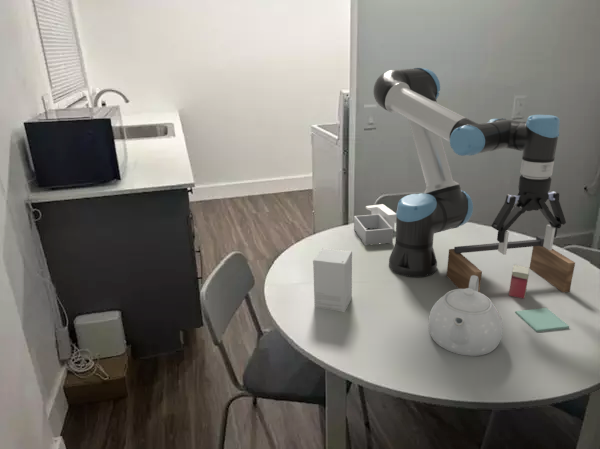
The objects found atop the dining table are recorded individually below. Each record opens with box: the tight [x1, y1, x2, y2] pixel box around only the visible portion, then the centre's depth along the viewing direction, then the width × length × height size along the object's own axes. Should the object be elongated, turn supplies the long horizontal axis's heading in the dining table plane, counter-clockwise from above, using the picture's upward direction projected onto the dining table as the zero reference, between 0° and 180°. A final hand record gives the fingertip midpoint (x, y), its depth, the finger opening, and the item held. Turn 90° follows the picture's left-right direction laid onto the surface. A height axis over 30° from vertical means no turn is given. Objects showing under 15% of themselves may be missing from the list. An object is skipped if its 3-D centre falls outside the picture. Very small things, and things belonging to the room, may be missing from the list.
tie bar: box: [453, 235, 545, 254], centre depth 141 cm, size 29×2×2 cm, turn 99°
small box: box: [508, 264, 530, 299], centre depth 133 cm, size 5×4×8 cm
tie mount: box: [446, 246, 576, 293], centre depth 138 cm, size 30×16×9 cm, turn 99°
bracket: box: [365, 203, 397, 231], centre depth 186 cm, size 13×7×8 cm
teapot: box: [427, 275, 504, 357], centre depth 113 cm, size 19×18×14 cm
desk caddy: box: [353, 214, 394, 246], centre depth 176 cm, size 10×16×6 cm, turn 9°
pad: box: [514, 307, 570, 332], centre depth 121 cm, size 9×9×1 cm
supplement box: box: [312, 247, 353, 313], centre depth 130 cm, size 9×9×15 cm
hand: (524, 250), depth 129 cm, fingers open, 13 cm apart
